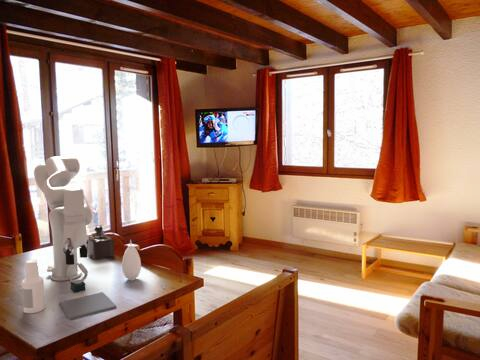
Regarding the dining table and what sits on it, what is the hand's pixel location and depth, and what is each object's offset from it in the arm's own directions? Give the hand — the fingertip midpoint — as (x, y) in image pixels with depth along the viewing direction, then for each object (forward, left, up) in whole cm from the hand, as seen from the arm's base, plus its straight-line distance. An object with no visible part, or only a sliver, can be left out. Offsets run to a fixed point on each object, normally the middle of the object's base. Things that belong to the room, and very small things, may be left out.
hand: (77, 260), depth 158 cm
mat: (+12, -14, -12) cm, 22 cm away
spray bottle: (-6, -19, -13) cm, 24 cm away
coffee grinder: (-12, +43, -13) cm, 47 cm away
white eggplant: (+17, +14, -13) cm, 25 cm away
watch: (0, 0, -13) cm, 13 cm away
